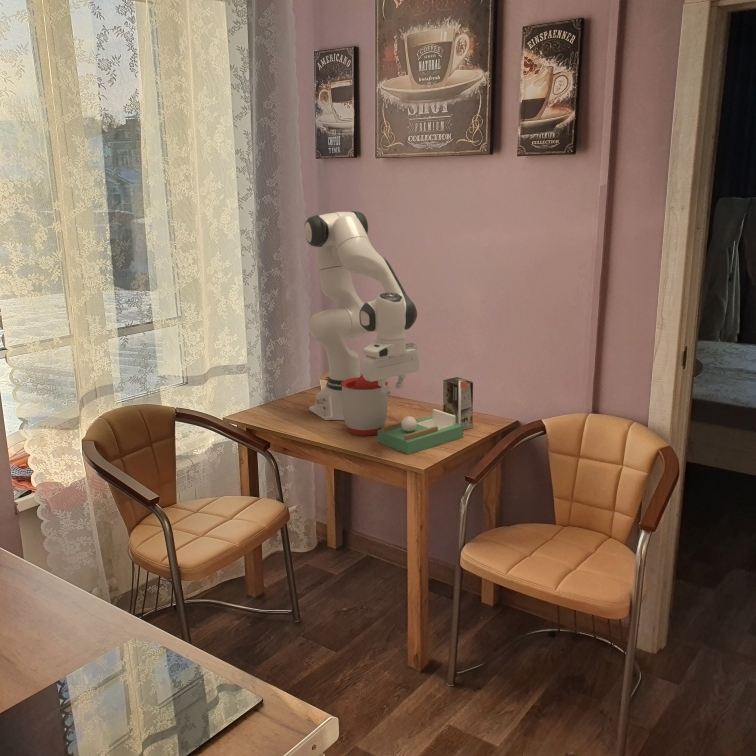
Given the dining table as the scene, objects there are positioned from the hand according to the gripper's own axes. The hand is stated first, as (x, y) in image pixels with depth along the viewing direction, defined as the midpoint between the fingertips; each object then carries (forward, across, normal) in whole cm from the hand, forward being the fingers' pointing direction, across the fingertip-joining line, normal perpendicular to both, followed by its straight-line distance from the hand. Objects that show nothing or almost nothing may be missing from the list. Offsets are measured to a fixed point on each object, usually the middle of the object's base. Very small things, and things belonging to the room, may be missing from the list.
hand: (391, 390), depth 242 cm
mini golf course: (+19, -12, 0) cm, 23 cm away
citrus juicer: (+19, -5, -19) cm, 28 cm away
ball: (+15, -7, 0) cm, 17 cm away
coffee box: (+19, -31, -2) cm, 37 cm away
